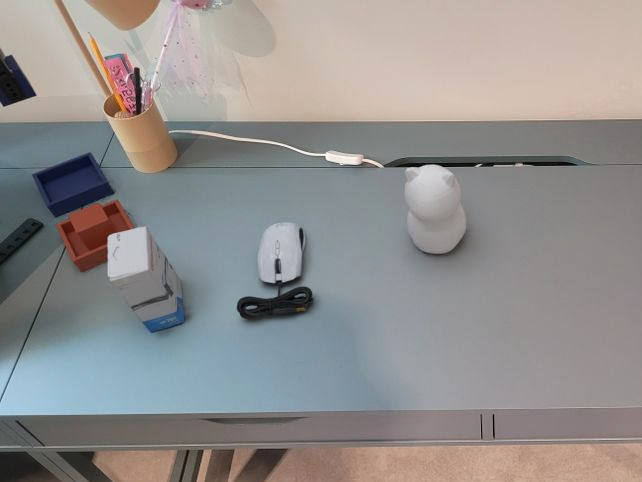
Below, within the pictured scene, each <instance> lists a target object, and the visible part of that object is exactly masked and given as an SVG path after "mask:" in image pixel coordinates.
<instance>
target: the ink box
mask: <svg viewBox="0 0 642 482" xmlns="http://www.w3.org/2000/svg"><path fill="white" fill-rule="evenodd" d="M107 277H108V278H109V282H110V283H111V284H112V285H113V287H114V288H115V289H116V290H117V292H118V293H119V294H120V295H121V297H122V298H123V299H124V301H125V302H126V304H127V305H128V306H129V308H130V309H131V310H132V311H133V312H134V314H135V315H136V316H137V318H138V319H139V320H140V321H141V323H142V324H143V326H144V327H145V328H146V329H147V331H148V332H149V333H154V332H157V331H161V330H164V329H168V328H172V327H175V326H177V325H180V324H182V323H185V312H184V302H183V290H182V289H183V288H182V278H181V277H180V276H179V274H178V272H177V271H176V270H175V268H174V266H173V265H172V264H171V262H170V261H169V259H168V258H167V256H166V254H165V253H164V251H163V250H162V248H161V247H160V245H159V244H158V242H157V241H156V239H155V238H154V236H153V234H152V233H151V231H150V229H149V228H148V227H147V225H143V226H138V227H134V229H131V230H127V231H123V232H119V233H114V234H111V235H109V236H108V260H107Z"/></svg>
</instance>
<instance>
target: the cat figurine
mask: <svg viewBox="0 0 642 482" xmlns="http://www.w3.org/2000/svg"><path fill="white" fill-rule="evenodd" d="M404 177H405V179H406V182H405V185H404V202H405V205H406V207H407V209H408V213H407V216H406V226H407V229H408V234H409V236H410V238H411V240H412V242H413V244H414V245H415V246H416V247H417V248H418V249H419V250H420V251H422V252H425V253H428V254H435V255H436V254H437V255H438V254H439V255H440V254H447V253H449V252H452V251H453V249H455V247H456V246H457V245H459V243H460V241H461V240H462V238H463V237H464V235H465V233H466V230H467V217H466V211H465V210H464V207H463V205H462V204H461V200H462V199H461V198H462V189H461V186H460V184H459V181H458V179H457V178H456V176H455V175H454V173H453V172H451V171H450V170H449V169H448V168H445V167H443V166H441V165H438V164H425V165H422V166H419V167H415V166H414V167H413V166H412V167H407V168H406V169H405V170H404Z"/></svg>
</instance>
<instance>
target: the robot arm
mask: <svg viewBox="0 0 642 482" xmlns="http://www.w3.org/2000/svg"><path fill="white" fill-rule="evenodd" d="M5 56H6V54H5V52H4V51H3V48H1V47H0V68H2V70H0V88H1V90H2V91H3V93H4V94H5V96H6V97H7V98H8V100H9V101H10V102H11V103H14V104H16V103H15V102H17V103H19V102H18V101H20V102H22V101H21V100H23V101H25V100H24V99H26V95H25V93H24V91H23V90H22V88H21V87H20V85H19V84H18V82H17V81H16V79H15V78H14V76H13V72H12V70H10V69H9V68H8V66H7V64H6V63H5V61H4V59H5ZM26 100H27V99H26Z"/></svg>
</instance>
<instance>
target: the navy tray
mask: <svg viewBox="0 0 642 482" xmlns="http://www.w3.org/2000/svg"><path fill="white" fill-rule="evenodd" d="M31 176H32V178H33V181H34V182H35V184H36V187H37V189H38V191H39V193H40V196H41V197H42V199H43V201H44V204H45V206H46V207H47V209H48V210H49V212H50V213H51V214H52V215H53V217H54V218H57V217H58V218H59V216H63V215H65V214H68V213H69V212H71V211H74V210H77V209H79V208H82V207H85V206H87V205H89V204H92V203H94V202H97V201H99V200H102V199H104V198H107V197H109V196H111V195H114V194H115V191H114V190H113V188H112V186H111V183H110V182H109V181H108V179H107V177H106V175H105V174H104V172H103V170H102V168H101V167H100V165H99V163H98V162H97V160H96V158H95V156H94V155H93V153H92V151H90V152H87V153H84V154H82V155H78V156H76V157H74V158H71V159H68V160H65V161H63V162H60V163H58V164H54V165H52V166H49V167H47V168H45V169H42V170H39V171H36V172H34V173H32V174H31Z"/></svg>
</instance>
